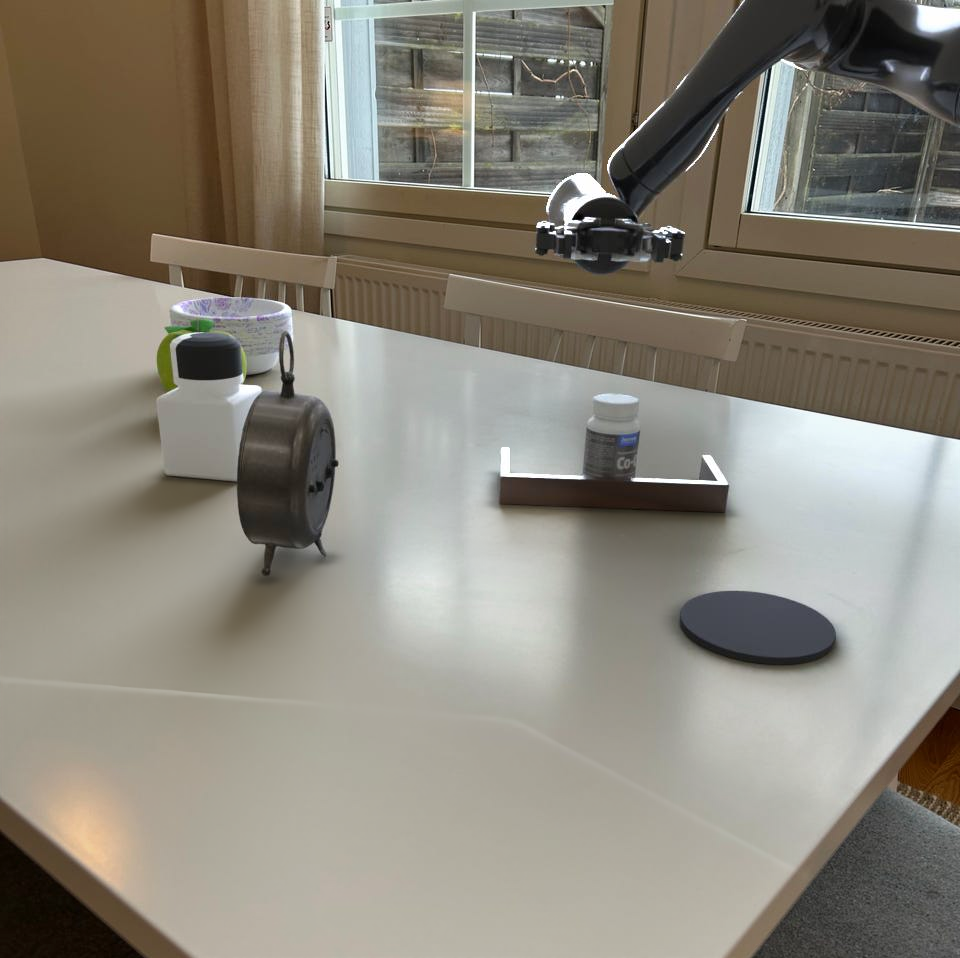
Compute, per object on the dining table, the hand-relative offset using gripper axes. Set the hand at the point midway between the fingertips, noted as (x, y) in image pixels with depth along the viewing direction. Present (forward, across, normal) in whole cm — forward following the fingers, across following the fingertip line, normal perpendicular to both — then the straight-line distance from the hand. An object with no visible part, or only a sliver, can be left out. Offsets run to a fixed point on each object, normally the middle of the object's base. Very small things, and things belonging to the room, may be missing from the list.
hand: (614, 248), depth 90 cm
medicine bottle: (+9, -36, +20) cm, 42 cm away
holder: (+11, 0, +19) cm, 22 cm away
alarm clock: (+29, -25, +20) cm, 43 cm away
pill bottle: (+11, 0, +20) cm, 23 cm away
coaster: (+38, +7, +19) cm, 44 cm away
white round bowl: (-33, -45, +20) cm, 59 cm away
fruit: (-11, -42, +20) cm, 48 cm away
